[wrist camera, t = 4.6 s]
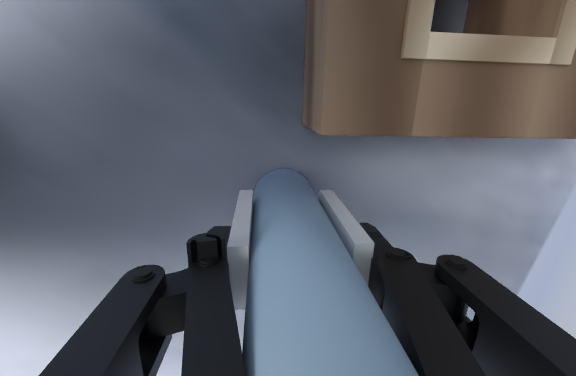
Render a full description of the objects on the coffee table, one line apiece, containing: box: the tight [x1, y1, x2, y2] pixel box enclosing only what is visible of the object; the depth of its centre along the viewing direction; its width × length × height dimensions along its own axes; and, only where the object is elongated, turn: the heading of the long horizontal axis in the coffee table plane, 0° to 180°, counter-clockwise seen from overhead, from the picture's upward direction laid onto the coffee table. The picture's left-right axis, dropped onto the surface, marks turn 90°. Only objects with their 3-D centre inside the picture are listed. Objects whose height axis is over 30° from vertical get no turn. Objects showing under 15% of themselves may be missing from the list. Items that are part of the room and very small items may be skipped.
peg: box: [242, 168, 419, 376], centre depth 12 cm, size 4×4×16 cm
